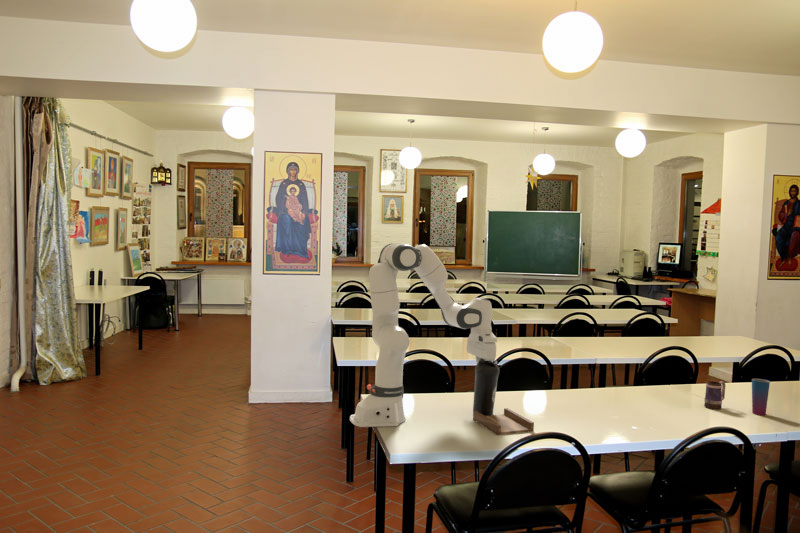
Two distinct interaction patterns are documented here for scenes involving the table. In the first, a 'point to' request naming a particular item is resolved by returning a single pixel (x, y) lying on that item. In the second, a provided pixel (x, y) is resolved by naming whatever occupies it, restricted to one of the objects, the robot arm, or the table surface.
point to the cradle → (504, 422)
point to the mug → (714, 394)
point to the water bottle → (485, 386)
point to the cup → (759, 396)
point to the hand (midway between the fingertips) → (479, 367)
